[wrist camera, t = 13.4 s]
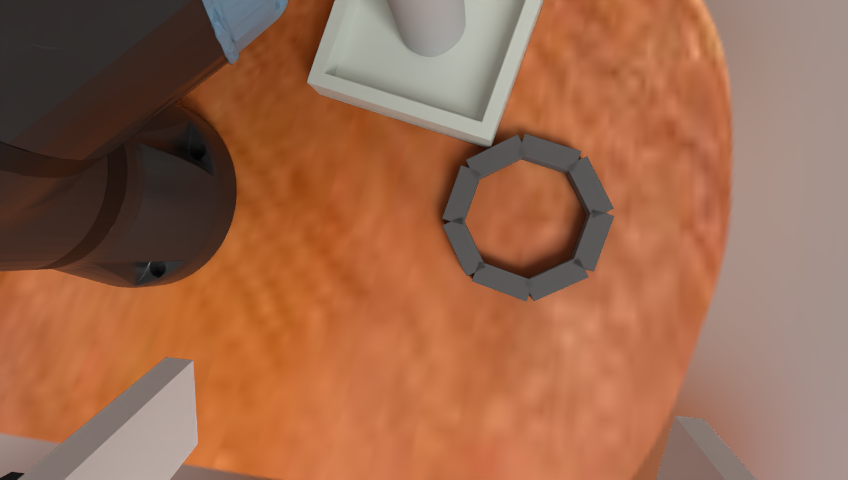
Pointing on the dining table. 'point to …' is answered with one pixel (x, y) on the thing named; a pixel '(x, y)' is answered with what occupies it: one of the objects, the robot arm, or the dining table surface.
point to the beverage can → (429, 24)
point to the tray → (426, 66)
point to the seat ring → (585, 189)
